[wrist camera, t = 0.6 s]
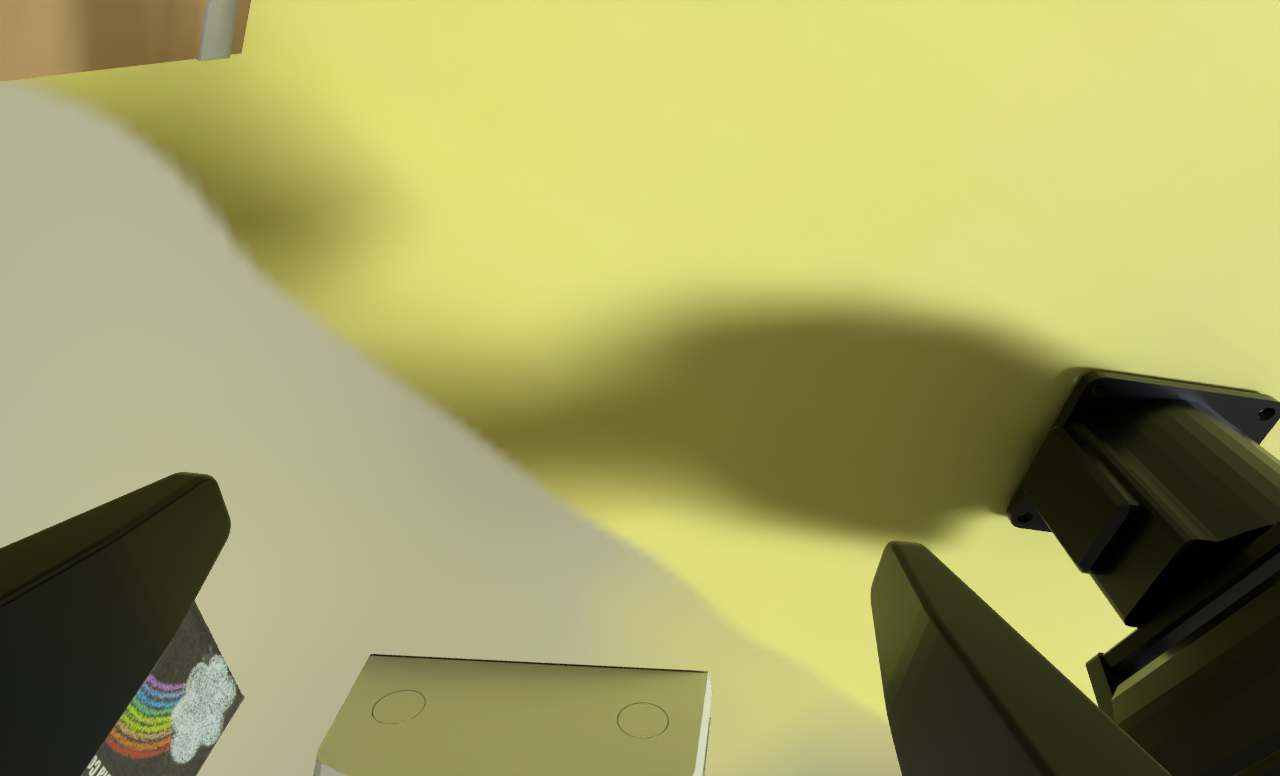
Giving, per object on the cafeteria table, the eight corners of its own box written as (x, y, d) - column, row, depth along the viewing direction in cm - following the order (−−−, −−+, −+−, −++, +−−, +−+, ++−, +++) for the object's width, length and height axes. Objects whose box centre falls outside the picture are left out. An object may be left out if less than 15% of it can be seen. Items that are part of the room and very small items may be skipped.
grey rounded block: (385, 717, 34) (266, 906, 24) (380, 635, 33) (253, 796, 23) (707, 735, 33) (721, 938, 23) (711, 651, 32) (728, 826, 22)
